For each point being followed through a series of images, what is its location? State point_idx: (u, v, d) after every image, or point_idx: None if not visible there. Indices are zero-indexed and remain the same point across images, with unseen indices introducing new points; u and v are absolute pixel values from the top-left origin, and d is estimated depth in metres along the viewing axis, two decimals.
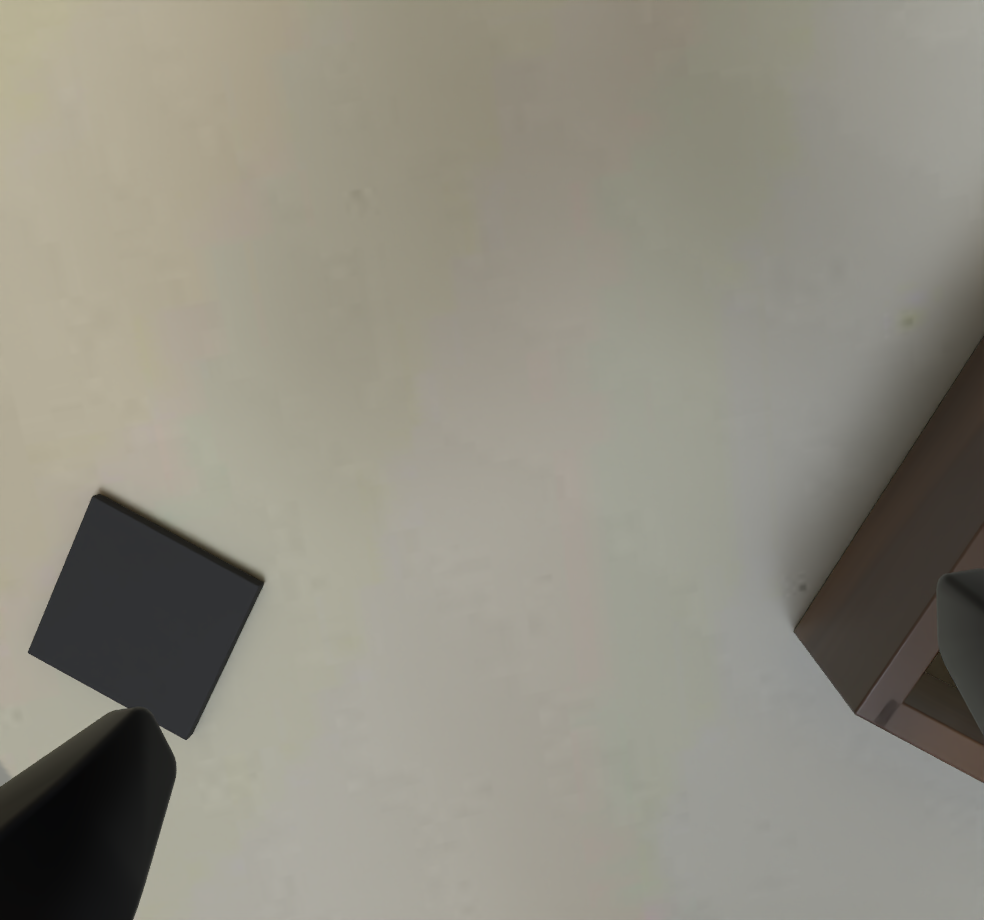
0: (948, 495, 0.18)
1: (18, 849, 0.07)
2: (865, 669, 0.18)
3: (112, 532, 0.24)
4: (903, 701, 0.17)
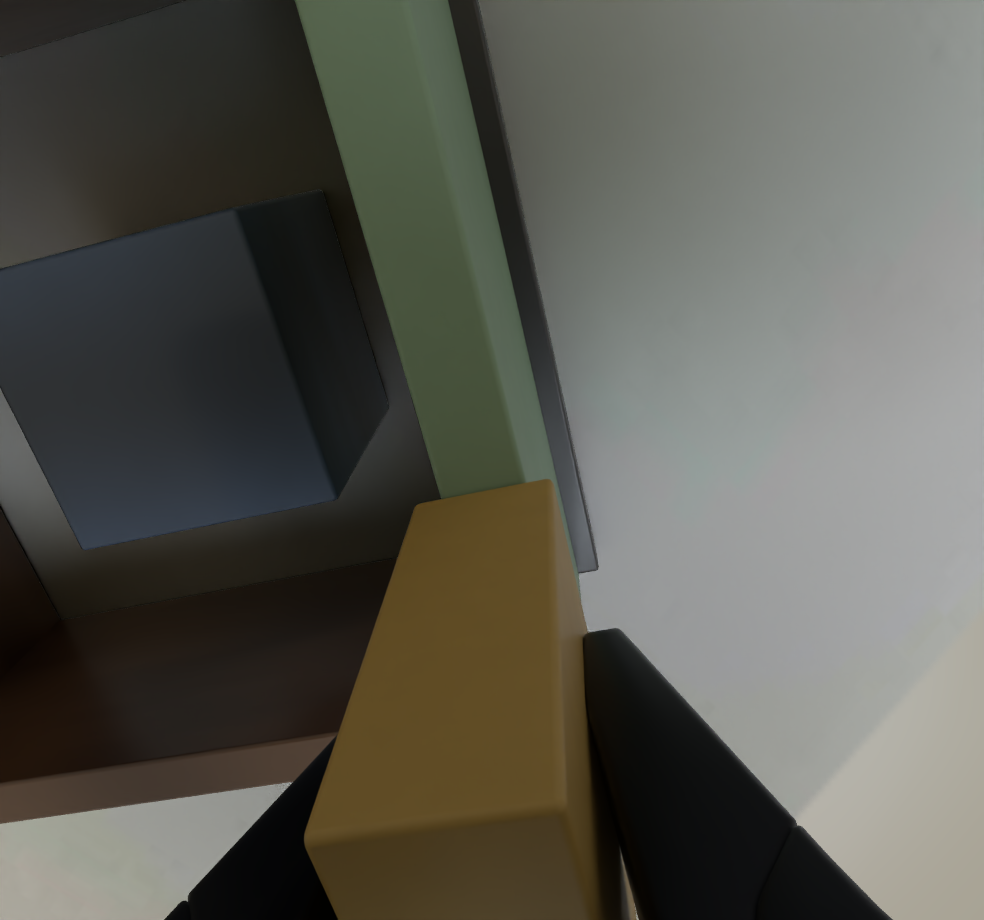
0: None
1: None
2: None
3: None
4: None
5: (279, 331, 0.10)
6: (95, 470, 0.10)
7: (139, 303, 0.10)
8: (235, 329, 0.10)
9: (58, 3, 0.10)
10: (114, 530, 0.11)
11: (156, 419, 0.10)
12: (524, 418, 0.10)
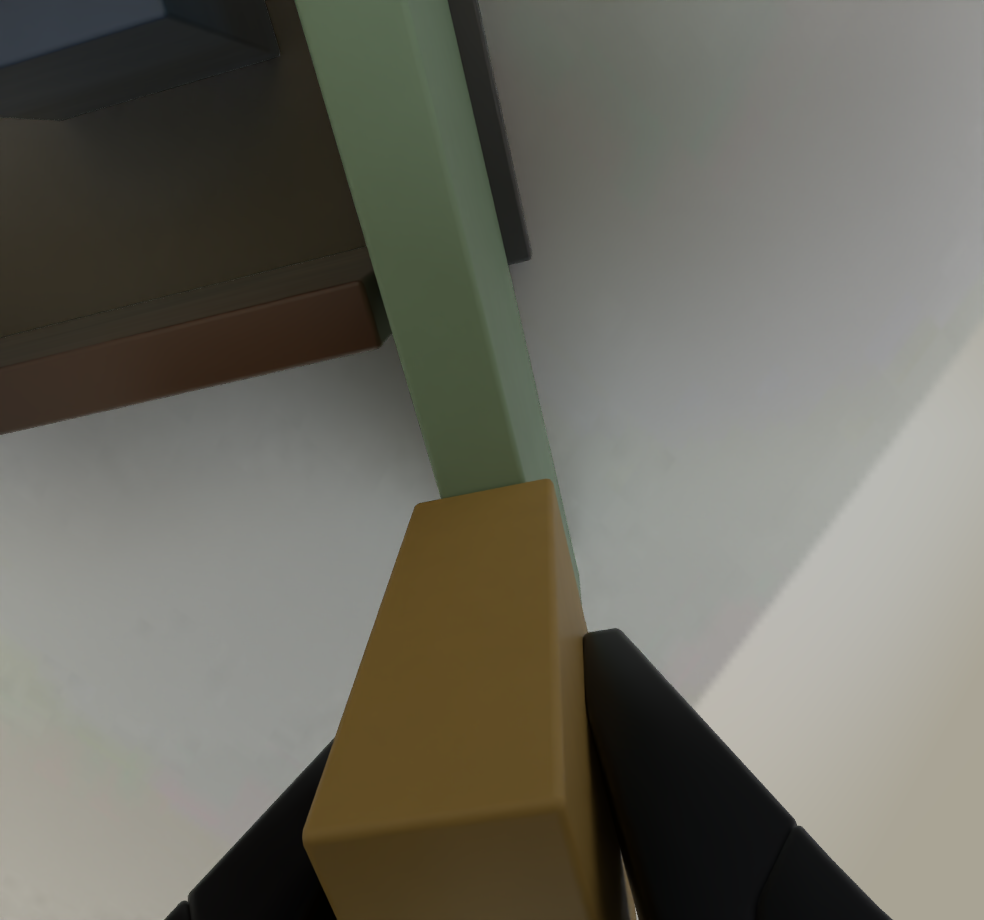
0: None
1: None
2: None
3: None
4: None
5: None
6: None
7: None
8: None
9: None
10: None
11: None
12: (524, 418, 0.10)
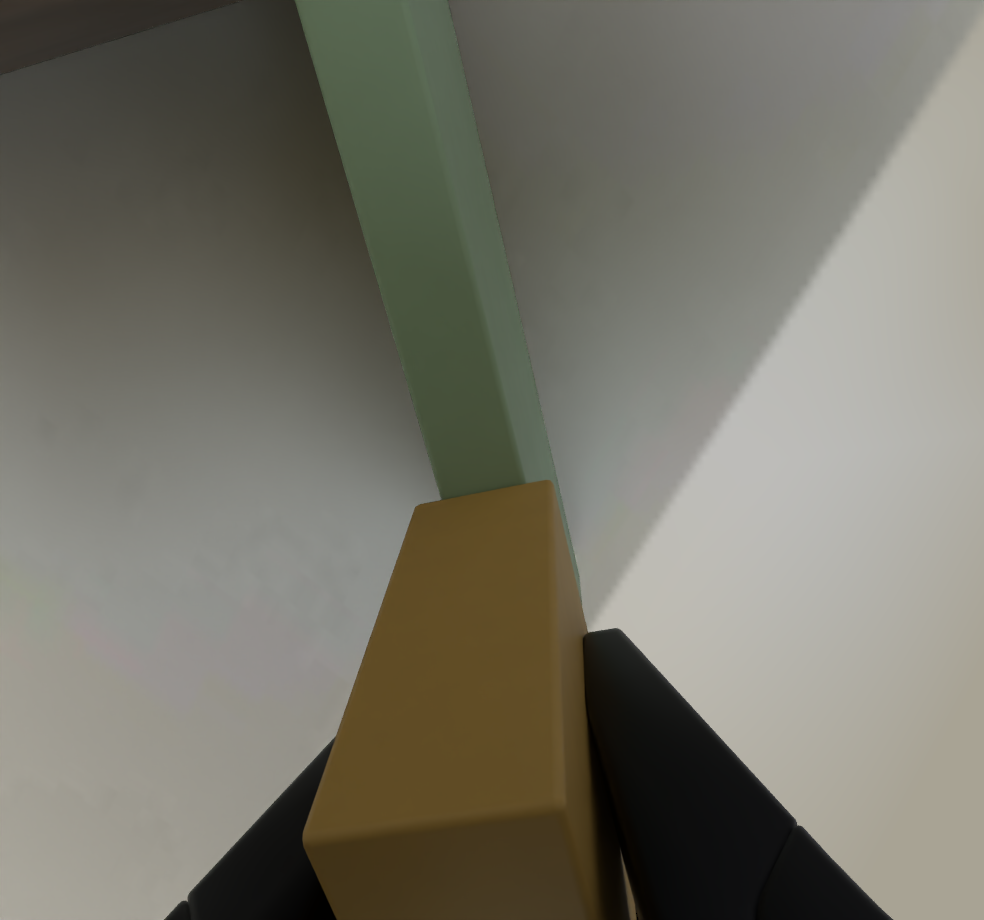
0: None
1: None
2: None
3: None
4: None
5: None
6: None
7: None
8: None
9: None
10: None
11: None
12: (524, 419, 0.10)
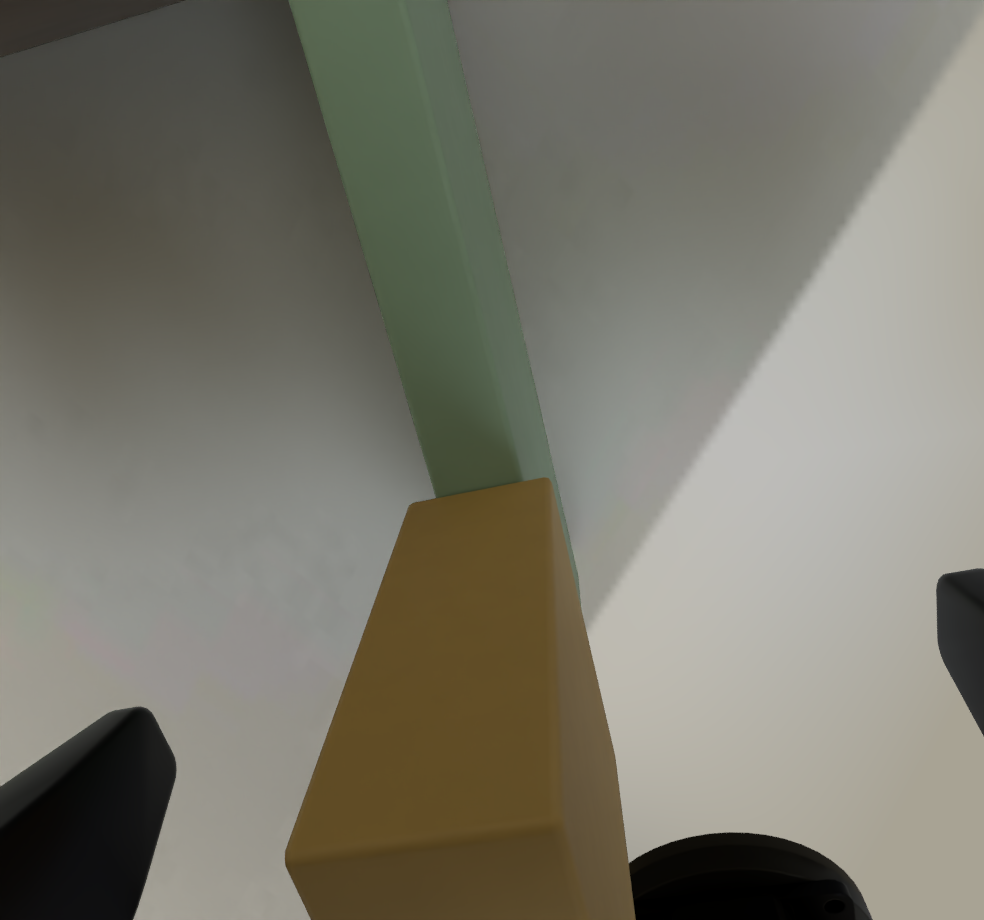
0: None
1: (18, 849, 0.07)
2: None
3: None
4: None
5: None
6: None
7: None
8: None
9: None
10: None
11: None
12: (522, 415, 0.09)
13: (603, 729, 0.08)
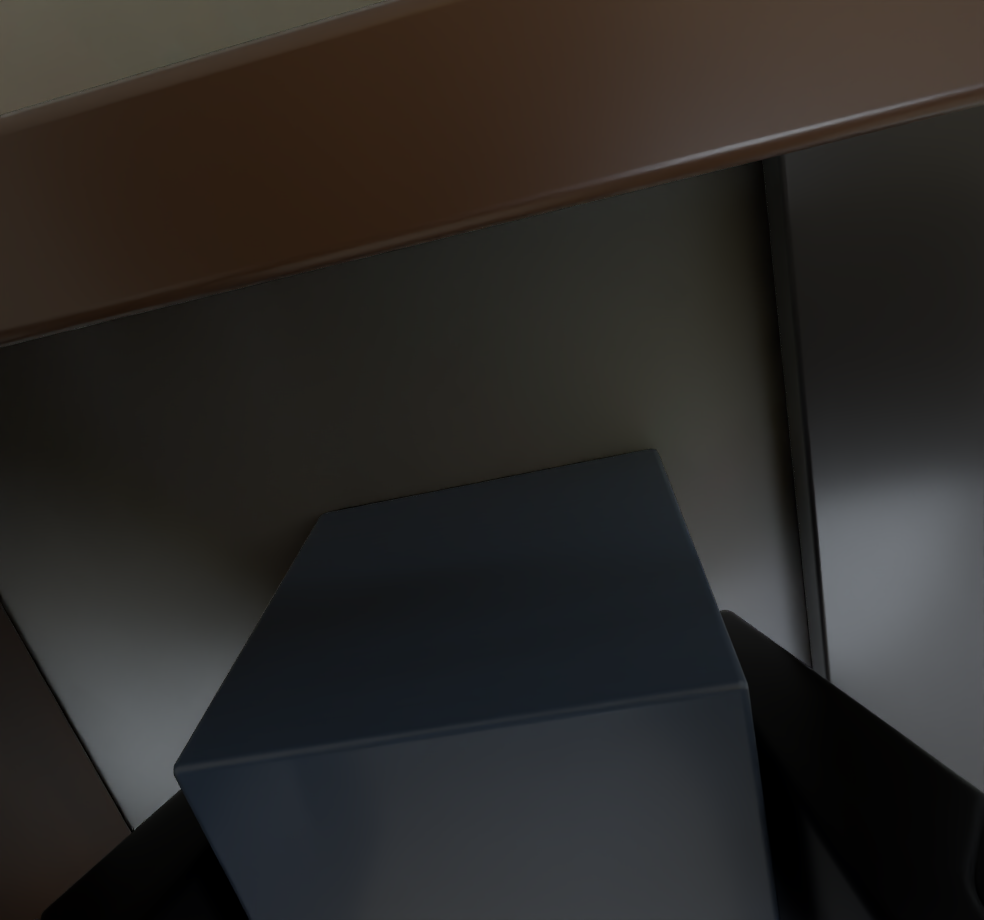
0: None
1: None
2: None
3: None
4: None
5: (770, 854, 0.05)
6: None
7: (522, 811, 0.05)
8: (691, 853, 0.05)
9: None
10: None
11: None
12: None
13: None
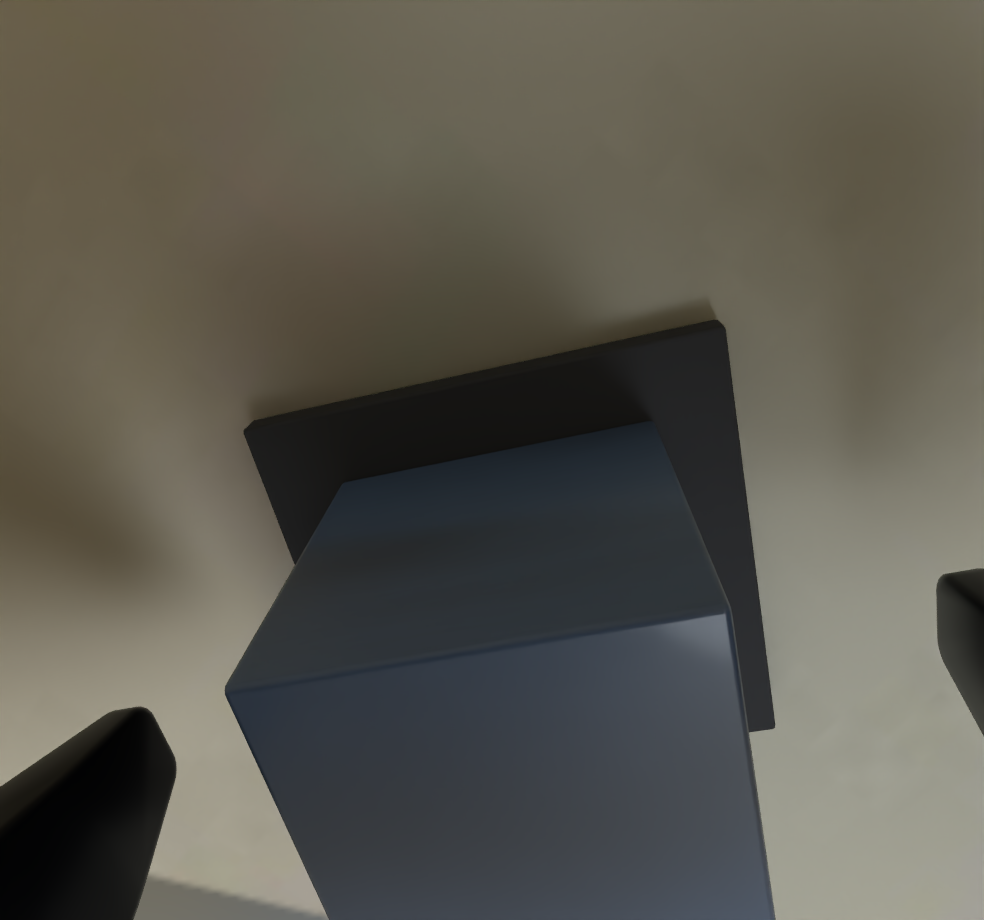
0: None
1: (17, 849, 0.07)
2: None
3: (339, 469, 0.10)
4: None
5: (752, 763, 0.06)
6: None
7: (532, 725, 0.06)
8: (683, 763, 0.06)
9: None
10: None
11: (524, 867, 0.07)
12: None
13: None
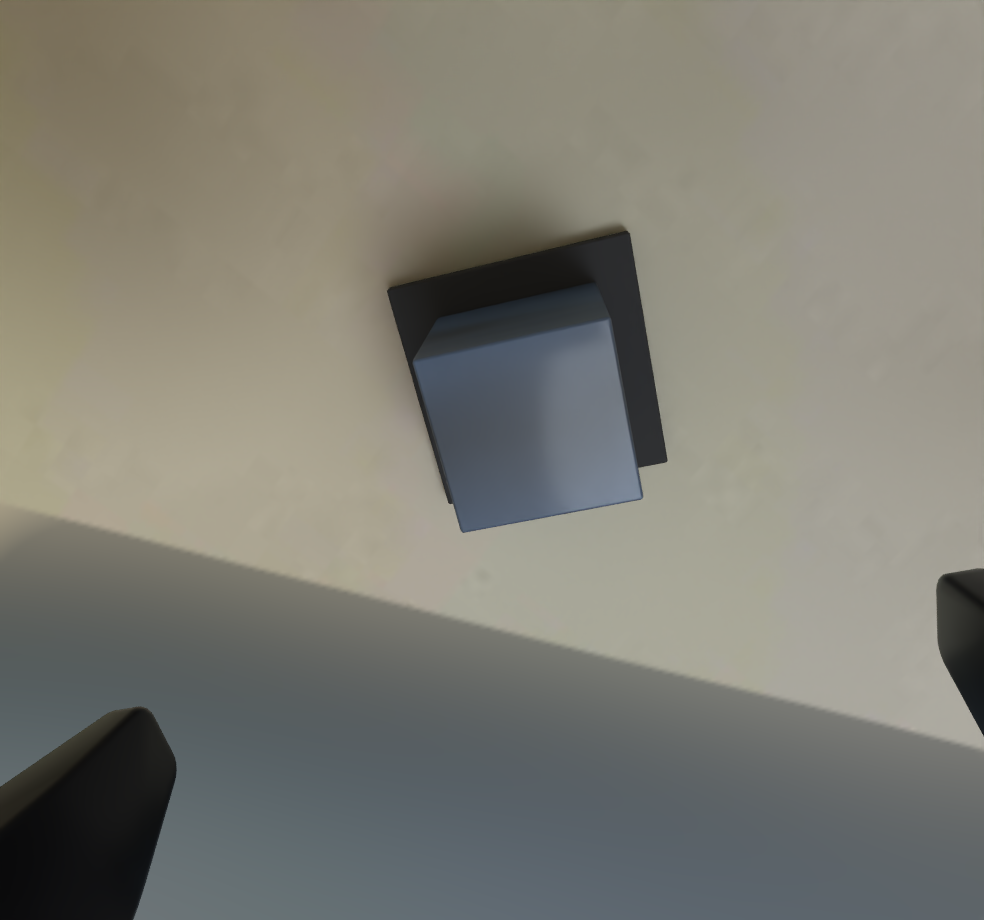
0: None
1: (18, 851, 0.07)
2: None
3: (435, 310, 0.19)
4: None
5: (623, 390, 0.15)
6: (483, 479, 0.16)
7: (536, 373, 0.15)
8: (595, 390, 0.15)
9: None
10: (488, 518, 0.16)
11: (532, 446, 0.16)
12: None
13: None
